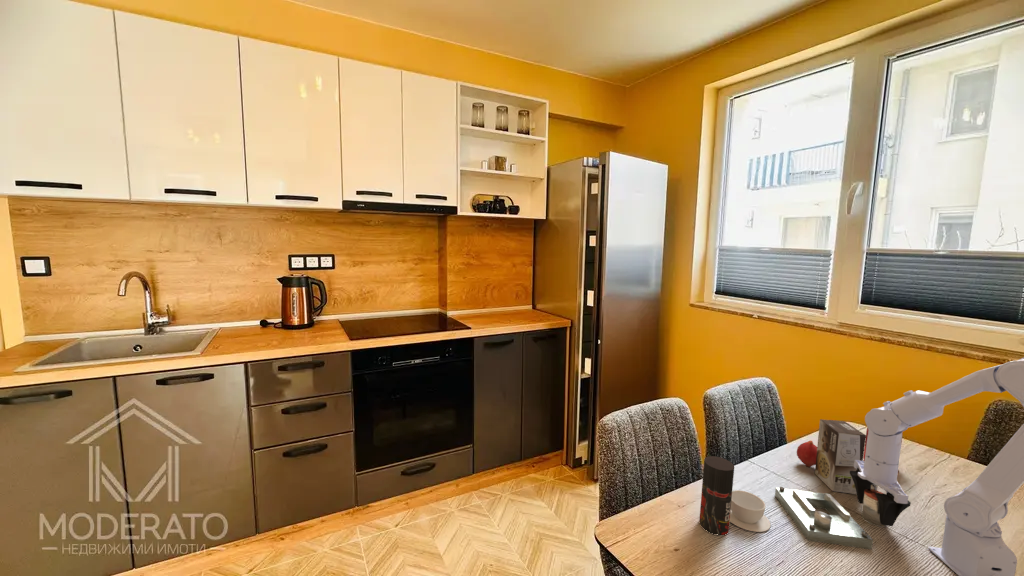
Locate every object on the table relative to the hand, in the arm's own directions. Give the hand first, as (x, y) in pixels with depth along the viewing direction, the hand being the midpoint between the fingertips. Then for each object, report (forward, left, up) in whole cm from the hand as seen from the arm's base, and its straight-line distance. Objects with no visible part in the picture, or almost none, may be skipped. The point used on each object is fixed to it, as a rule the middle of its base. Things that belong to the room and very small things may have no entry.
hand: (874, 513), depth 94 cm
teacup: (-6, +30, -2) cm, 30 cm away
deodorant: (-11, +38, -2) cm, 40 cm away
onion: (+23, +3, -2) cm, 23 cm away
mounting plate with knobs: (-3, +13, -2) cm, 13 cm away
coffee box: (+15, 0, -2) cm, 15 cm away
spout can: (0, 0, -2) cm, 2 cm away
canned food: (+29, -19, -2) cm, 35 cm away
